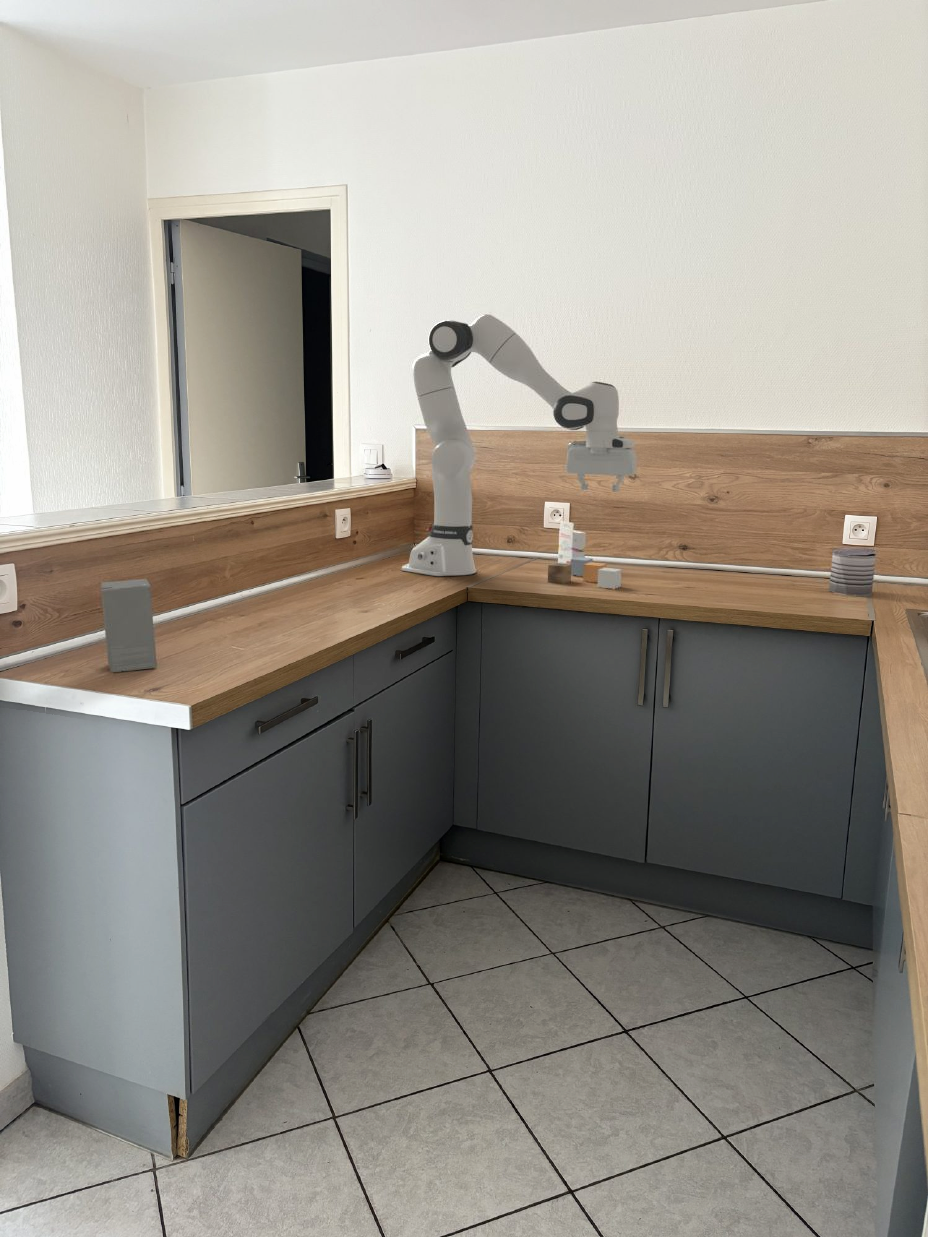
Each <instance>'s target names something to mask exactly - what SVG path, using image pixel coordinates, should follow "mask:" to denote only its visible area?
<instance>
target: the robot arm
mask: <svg viewBox="0 0 928 1237" xmlns="http://www.w3.org/2000/svg"><path fill="white" fill-rule="evenodd" d="M427 342H428V347H429V349H430V351H428V352H427V353H424V354H421V355H419V356H418V357H417V358H416V359H415V360H414V362H413V364H412V373H413V374H412V375H413V380H414V381H413V383H414V388H415V392H416V396H417V401H418V405H419V408H420V412H421V416H422V418H423V422H424V426H425V427H426V429H427V432H428V434H429V436H430V439H431V442H432V444H433V447H434V448H433V451H432V454H431V458H430V459H431V476H432V477H431V478H432V485H433V486H432V487H433V496H434V501H433V502H434V506H433V507H434V511H433V513H434V515H433V516H434V518H433V522H434V523H433V524H432V525H430V526H426V530H425V531H426V532H428V531H429V534H428V537H426V538H425V539H423V540H422V541H420V543H418V544H417V545H416V546H414V547H413V548H412V549H411V551H410V554H409V558H408V559H409V560H408V563H406V564H404V565H402V566H401V571H405V572H410V573H415V574H422V575H426V576H427V575H428V576H433V577H444V576H445V577H446V576H467V575H472V574H475V573H477V571H476V566H475V561H474V557H473V556H474V555H473V547H472V546H473V545H472V544H473V539H474V537H473V536H474V527H473V524H472V520H473V519H472V517H473V516H472V514H473V513H472V512H473V509H472V508H473V507H472V506H473V496H472V487H471V485H472V484H471V470H472V469H473V468H474V465H475V463H476V452H475V448H474V445H473V442H472V439H471V436H470V433H469V431H468V427H467V424H466V422H465V420H464V416H463V414H462V410H461V407H460V403H459V399H458V396H457V392H456V387H455V384H454V380H453V377H452V368H454V367H455V366H456V367H457V365H459V364H460V363H462V362H464V360H466V359H467V358H468V357H469V356H470V355H471V354H472V353H476V354H478V355H480V356H481V357H482V358H483V359H484V360H485V361H486V362H487V363H488V364H490V365H491V366H492V367H493V368H494V369H495V370H497V371H498V372H499V373H500V374H502V375H504V376H505V377H507V378H509V379H511V380H513V381H516V382H518V383H521V384H523V385H524V386H527V387H528V388H530V389H531V390H533V391H534V392H535V393H536V394H537V395H538V396H539V397H541V399H543V400H544V401H545V402H546V403H547V404H548V405H549V406H550V407H551V408H552V412H553V413H552V414H553V418H554V420H555V422H556V423H557V424H558V426H561V428H563V429H567V430H570V431H577V430H581V429H583V428H584V427H585V429H586V430H585V440H579V441H577V440H572V441H571V442H569V443H568V444H567V447H566V452H567V453H566V454H567V456H566V463H565V471H566V472H567V474H571V475H573V474H574V475H575V474H576V475H577V479H578V481H579V483H580V490H581V491H588V489H589V483H586V482H585V479H584V478H585V476H586V475H598V476H599V475H601V476H602V475H604V476H616V478H615V479H616V481H617V482H616V483H615V484H613V485H612V486H611V487H612V489H611V491H612V492H616V493H617V492H619V491H620V486H621V484H622V482H623V481H624V477H625V476H629V477H630V476H631V477H632V476H635V474H636V473H637V468H638V467H637V454H636V451H635V450H634V449H633V448H635V441H634V440H633V439H629V438H628V437H627V438H626V437H624V436H621V435H619V428H618V418H619V413H620V412H619V410H620V405H619V404H620V401H619V392H618V389H617V388H616V386H614V385H613V384H610V383H606V382H601V381H592V382H590V383H589V384H588V385H586V386H585V387H582V388H581V389H579V390H577V391H574V392H571V391H568V389H566V388H565V387H563V386H562V385H561V384H560V383H559V382H558V381H557V380H556V379H555V378H554V377H552V376H551V375H550V374H549V373H548V372H547V371H546V369H545V368H544V367H543V366H542V365H541V363H540V362H539V360H538V358H537V357H536V355H535V354H534V352H533V350H532V349H531V347H530V346H529V345H528V344H527V342H526V341H525V340H524V339H523V337H521V336H520V335H519V334H518V333H517V332H516V331H515V330H513V329H512V328H511V327H510V326H508V325H507V324H506V323H504V322H503V321H502V320H501V319H499V318H497V317H495V316H494V315H492V314H487V313H486V314H482V315H480V316H478V317H477V318H476V319H474V321H473V322H472V323H471V324H468V323H466V322H460V321H457V320H450V319H447V320H441V321H439V322H437V323H436V324H435V325H433V327H432V328H431V329H430V331H429V334H428V340H427Z"/></svg>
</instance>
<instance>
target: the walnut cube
mask: <svg viewBox="0 0 928 1237" xmlns="http://www.w3.org/2000/svg"><path fill="white" fill-rule="evenodd" d="M571 565H572V564H564V563H558V562H554V563H550V564H548V565H547V566H548V568H547V582H548V583H552V582H553V584H561V583H565V584H567V583H570V582H571V581H572V576H571ZM569 581H570V582H569ZM566 582H567V583H566Z"/></svg>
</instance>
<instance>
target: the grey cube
mask: <svg viewBox="0 0 928 1237" xmlns="http://www.w3.org/2000/svg"><path fill="white" fill-rule="evenodd" d="M621 585H622V569H621V568H612V567H607V568H602V569H599V570H598V583H597V584H596V586H597V587H602V588H601V589H606V588H613V589H612V590H616V589H615V588H617V589H618V587H619V588H621V587H622V586H621ZM620 586H621V587H620Z"/></svg>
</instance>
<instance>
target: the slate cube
mask: <svg viewBox="0 0 928 1237" xmlns="http://www.w3.org/2000/svg"><path fill="white" fill-rule="evenodd" d="M589 562H594V559H593V557H592V558H589V557H585V558H582V557H576V558H573V559H571V564H572V565H571V575H577V576H576V577H579V576H582V578H583V574H584V564H587V563H589Z"/></svg>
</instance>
